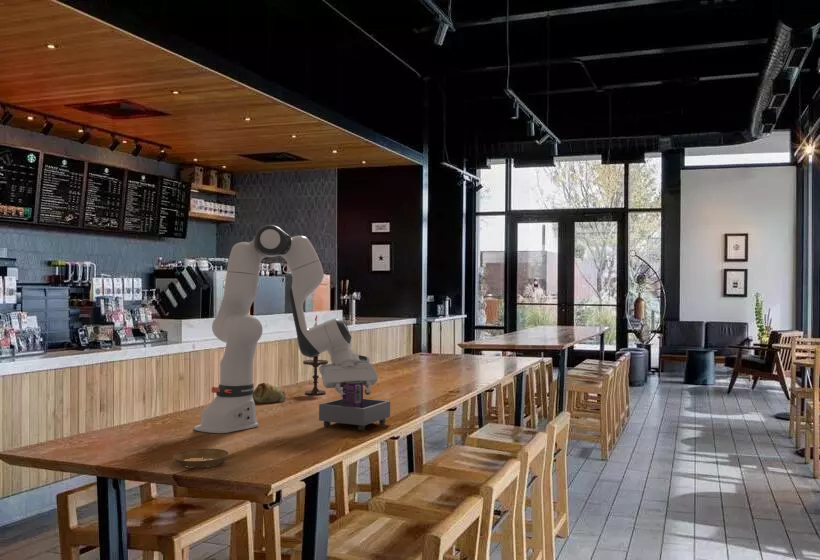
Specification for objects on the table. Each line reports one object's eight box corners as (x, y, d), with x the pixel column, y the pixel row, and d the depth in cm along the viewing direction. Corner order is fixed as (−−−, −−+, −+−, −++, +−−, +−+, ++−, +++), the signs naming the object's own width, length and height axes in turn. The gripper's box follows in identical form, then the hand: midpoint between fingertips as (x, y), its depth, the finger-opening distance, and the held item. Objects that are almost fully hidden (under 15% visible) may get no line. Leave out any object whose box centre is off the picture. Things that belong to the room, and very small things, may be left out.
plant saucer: (164, 469, 200) (164, 460, 200) (186, 456, 215) (186, 447, 215) (217, 471, 199) (217, 462, 199) (235, 458, 214) (235, 448, 214)
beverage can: (364, 414, 263) (364, 380, 263) (361, 418, 256) (361, 383, 256) (344, 413, 264) (344, 379, 264) (340, 417, 257) (340, 382, 257)
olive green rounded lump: (245, 402, 307) (245, 383, 307) (263, 398, 318) (263, 379, 318) (273, 405, 301) (273, 385, 301) (290, 400, 312) (291, 381, 312)
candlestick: (330, 394, 326) (331, 315, 326) (306, 396, 322) (306, 315, 322) (324, 391, 336) (324, 313, 336) (300, 392, 332) (301, 314, 332)
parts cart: (363, 432, 248) (364, 408, 248) (318, 427, 256) (319, 404, 256) (390, 423, 264) (390, 401, 264) (346, 418, 272) (347, 396, 272)
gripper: (320, 359, 261) (330, 391, 253) (372, 356, 271) (384, 387, 262) (315, 370, 265) (325, 402, 257) (367, 367, 275) (379, 398, 266)
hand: (355, 394), depth 260 cm, fingers open, 8 cm apart
